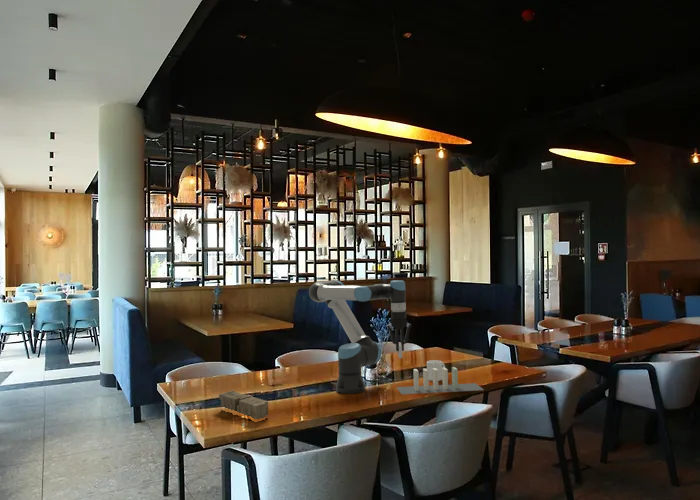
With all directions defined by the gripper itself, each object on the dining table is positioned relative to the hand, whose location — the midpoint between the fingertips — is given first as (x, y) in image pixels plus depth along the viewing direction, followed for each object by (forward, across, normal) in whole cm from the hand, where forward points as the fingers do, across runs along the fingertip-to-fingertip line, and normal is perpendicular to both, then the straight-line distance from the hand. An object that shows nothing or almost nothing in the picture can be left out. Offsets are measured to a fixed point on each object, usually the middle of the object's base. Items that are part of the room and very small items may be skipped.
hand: (400, 357), depth 271 cm
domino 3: (+17, +18, 0) cm, 24 cm away
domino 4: (+17, +23, 0) cm, 28 cm away
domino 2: (+17, +13, 0) cm, 21 cm away
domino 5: (+17, +28, 0) cm, 33 cm away
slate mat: (+18, +20, 0) cm, 26 cm away
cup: (+18, +24, +21) cm, 36 cm away
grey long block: (+18, -76, -24) cm, 82 cm away
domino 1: (+17, +8, 0) cm, 18 cm away
